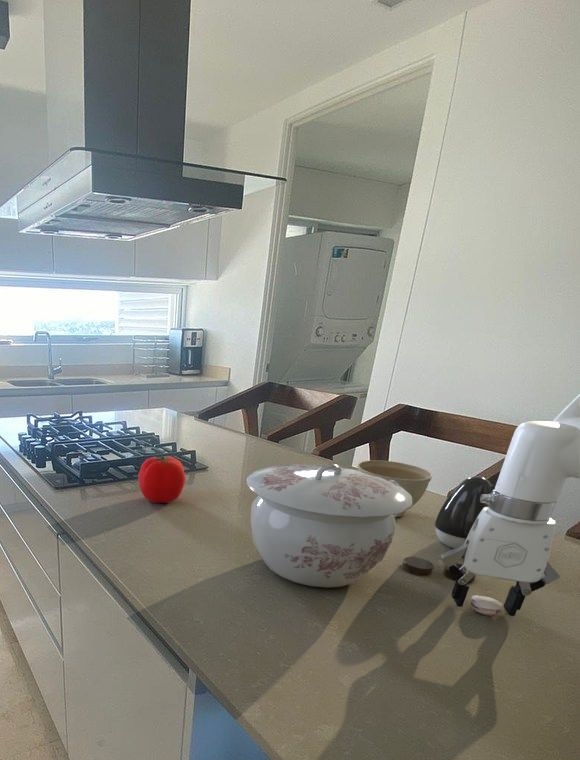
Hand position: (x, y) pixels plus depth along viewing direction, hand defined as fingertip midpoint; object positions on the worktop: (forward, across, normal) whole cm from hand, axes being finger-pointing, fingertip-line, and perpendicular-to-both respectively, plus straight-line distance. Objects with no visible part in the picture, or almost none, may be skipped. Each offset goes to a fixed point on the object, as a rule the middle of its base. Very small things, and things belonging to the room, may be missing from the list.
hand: (482, 606), depth 80 cm
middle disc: (+1, -1, +12) cm, 12 cm away
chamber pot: (+1, -27, +4) cm, 27 cm away
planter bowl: (+1, -11, +44) cm, 45 cm away
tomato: (+1, -65, +30) cm, 72 cm away
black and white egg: (+1, +2, +28) cm, 28 cm away
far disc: (+1, -8, +12) cm, 14 cm away
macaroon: (+1, 0, 0) cm, 1 cm away
